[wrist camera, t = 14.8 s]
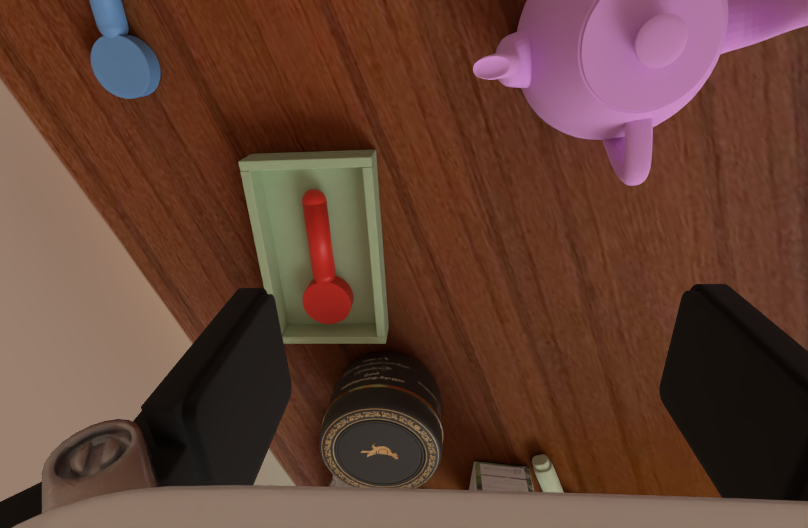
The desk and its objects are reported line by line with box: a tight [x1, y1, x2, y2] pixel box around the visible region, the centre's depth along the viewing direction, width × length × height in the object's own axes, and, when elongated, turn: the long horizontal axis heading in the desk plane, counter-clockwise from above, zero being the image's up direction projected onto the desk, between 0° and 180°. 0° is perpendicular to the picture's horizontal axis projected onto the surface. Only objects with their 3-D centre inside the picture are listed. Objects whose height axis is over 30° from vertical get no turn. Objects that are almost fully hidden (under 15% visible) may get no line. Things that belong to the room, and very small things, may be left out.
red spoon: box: [302, 189, 354, 324], centre depth 36 cm, size 11×4×2 cm, turn 3°
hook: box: [532, 454, 564, 493], centre depth 47 cm, size 5×2×15 cm
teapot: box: [473, 0, 808, 186], centre depth 25 cm, size 12×14×9 cm
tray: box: [238, 150, 389, 344], centre depth 36 cm, size 15×9×2 cm, turn 3°
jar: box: [319, 352, 443, 489], centre depth 39 cm, size 10×10×8 cm
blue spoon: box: [89, 0, 161, 99], centre depth 29 cm, size 11×4×2 cm, turn 3°
